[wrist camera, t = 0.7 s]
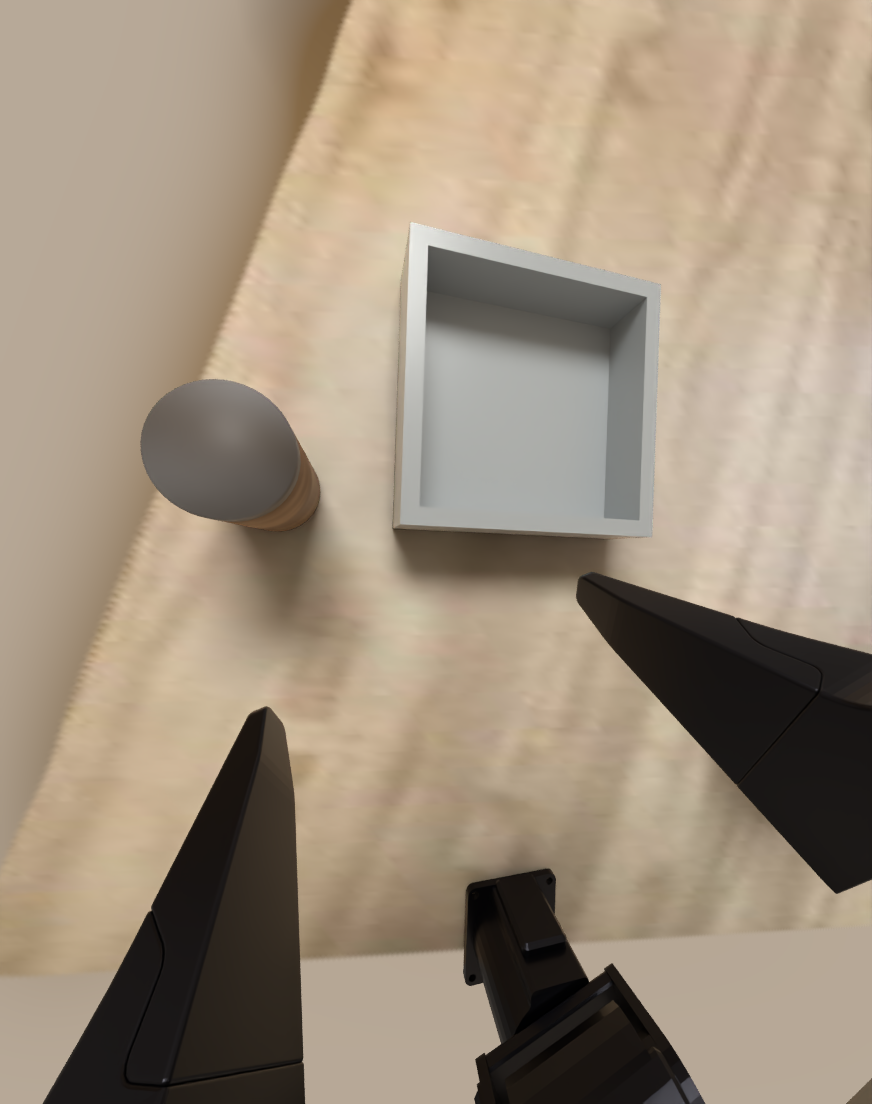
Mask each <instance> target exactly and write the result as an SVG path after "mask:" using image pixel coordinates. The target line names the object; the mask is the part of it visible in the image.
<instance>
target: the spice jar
mask: <svg viewBox="0 0 872 1104" xmlns="http://www.w3.org/2000/svg"><path fill="white" fill-rule="evenodd" d="M141 455H142V460H143V464H144V467H145V469H146V472H147V474H148V476H149V478H150V479H151V481H152V482H153V484H154V485H155V487H156V488H157V489H158V490H159V491H160V493H161V494H162V495H163V496H164V497H165V498H167V499H168V500H169V501H170V502H171V503H173V504H174V505H176V506H178V507H179V508H181V509H183V510H185V511H187V512H189V513H191V514H194V515H197V516H200V517H205V518H209V519H214V520H219V521H224V522H229V523H233V524H238V525H243V526H248V527H253V528H258V529H263V530H268V531H286V530H290V529H293V528H296V527H298V526H300V525H301V524H303V523H304V522H306V521H307V520H308V519H309V518H310V517H311V516H312V514H313V513H314V511H315V510H316V508H317V505H318V502H319V498H320V485H319V480H318V477H317V475H316V473H315V471H314V469H313V467H312V465H311V463H310V462H309V460H308V458H307V456H306V454H305V452H304V451H303V449H302V447H301V445H300V443H299V441H298V440H297V438H296V436H295V434H294V432H293V430H292V429H291V427H290V425H289V423H288V421H287V420H286V418H285V417H284V415H283V414H282V412H281V411H280V410H279V409H278V407H277V406H276V405H275V404H274V403H272V402H271V401H270V400H269V399H268V398H267V397H265V396H264V395H263V394H261V393H259V392H258V391H256V390H254V389H252V388H250V387H248V386H245V385H243V384H240V383H236V382H232V381H227V380H218V379H209V380H199V381H195V382H190V383H187V384H184V385H182V386H180V387H177V388H175V389H174V390H172V391H171V392H169V393H168V394H166V395H165V396H164V397H163V398H161V399H160V400H159V401H158V402H157V403H156V405H155V406H154V407H153V408H152V410H151V411H150V413H149V414H148V416H147V419H146V421H145V423H144V426H143V430H142V434H141Z"/></svg>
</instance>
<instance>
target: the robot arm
mask: <svg viewBox="0 0 872 1104" xmlns="http://www.w3.org/2000/svg"><path fill="white" fill-rule="evenodd" d="M576 598H577V602H578V603H579V605H580V606H581V608H582V609H583V610H584V612H585V613H586V614H587V616H588V617H589V619H590V620H591V621H592V623H593V624H594V625H595V627H596V628H597V629H598V631H599V632H600V633H601V635H602V636H603V637H604V639H605V640H606V641H607V643H608V644H609V645H610V646H611V647H612V649H613V650H614V651H615V652H616V653H617V654H618V655H619V656H620V657H621V659H622V660H623V661H624V662H625V663H626V664H627V665H628V666H629V667H630V668H631V670H632V671H633V672H634V673H635V674H636V675H637V676H638V677H639V678H640V679H641V681H642V682H643V683H644V684H645V685H646V686H647V687H648V688H649V689H650V690H651V692H652V693H653V694H654V695H655V696H656V697H657V698H658V699H659V700H660V702H661V703H662V704H663V705H664V706H665V707H666V708H667V709H668V710H669V711H670V713H671V714H672V715H673V716H674V717H675V718H676V719H677V720H678V721H679V722H680V724H681V725H682V726H683V727H684V728H685V729H686V730H687V731H688V732H689V733H690V735H691V736H692V737H693V738H694V739H695V740H696V741H697V742H698V743H699V744H700V746H701V747H702V748H703V749H704V750H705V751H706V752H707V753H708V754H709V755H710V757H711V758H712V759H713V760H714V761H715V762H716V763H717V764H718V765H719V767H720V768H721V769H722V770H723V771H724V772H725V773H726V774H727V775H728V776H729V778H730V779H731V780H732V781H733V782H734V783H735V784H737V787H738V788H739V789H740V790H741V791H742V792H743V793H744V794H745V795H746V797H747V798H748V799H749V800H750V801H751V802H752V803H753V804H754V805H755V806H756V808H757V809H758V810H759V811H760V812H761V813H762V814H763V815H764V816H765V817H766V819H767V820H768V821H769V822H770V823H771V824H772V825H773V826H774V827H775V828H776V830H777V831H778V832H779V833H780V834H781V835H782V836H783V837H784V838H785V839H786V841H787V842H788V843H789V844H790V845H791V846H792V847H793V848H794V849H795V850H796V852H797V853H798V854H799V855H800V856H801V857H802V858H803V859H804V860H805V861H806V863H807V864H808V865H809V866H810V867H811V868H812V869H813V870H814V871H815V872H816V874H817V875H818V876H819V877H820V878H821V879H822V880H823V881H824V882H825V883H826V884H827V885H828V887H830V888H831V889H832V890H833V891H834V892H835V893H836V894H838V893H841V892H843V891H846V890H848V889H850V888H853V887H855V886H858V885H860V884H862V883H865V882H867V881H870V880H872V654H869V653H865V652H861V651H857V650H853V649H849V648H845V647H841V646H837V645H834V644H830V643H826V642H822V641H818V640H814V639H810V638H806V637H803V636H799V635H795V634H792V633H788V632H784V631H781V630H777V629H774V628H770V627H767V626H764V625H760V624H757V623H754V622H751V621H747V620H744V619H741V618H735V617H734V616H731V615H728V614H725V613H722V612H718V611H715V610H712V609H709V608H706V607H703V606H699V605H696V604H693V603H690V602H687V601H683V600H680V599H677V598H674V597H671V596H668V595H664V594H661V593H658V592H655V591H652V590H648V589H645V588H642V587H639V586H636V585H632V584H629V583H626V582H623V581H620V580H617V579H613V578H610V577H607V576H604V575H601V574H597V573H594V572H590V573H587V574H585V575H582V576H580V577H579V579H578V584H577V593H576ZM555 888H556V878H555V876H554V874H553V872H552V871H551V870H550V869H543V870H537V871H532V872H527V873H522V874H517V875H511V876H506V877H501V878H496V879H490V880H485V881H480V882H475V883H472V884H470V885H469V886H468V887H467V890H466V910H465V940H464V969H463V974H464V978H465V982H466V984H467V985H469V986H472V985H476V984H480V983H484V986H485V990H486V993H487V997H488V1000H489V1004H490V1007H491V1010H492V1014H493V1017H494V1021H495V1024H496V1028H497V1031H498V1034H499V1038H500V1041H501V1045H499V1046H498V1047H497V1048H495V1049H494V1050H492V1051H491V1052H489V1053H488V1054H487V1055H485V1053H483V1054H482V1055H480V1056H479V1057H478V1058H476V1059H475V1060H476V1065H477V1070H478V1075H479V1081H480V1083H478V1084H477V1088H478V1091H477V1093H476V1096H475V1098H474V1099H475V1104H705V1102H704V1101H703V1099H702V1097H701V1095H700V1093H699V1091H698V1089H697V1088H696V1086H695V1084H694V1082H693V1081H692V1079H691V1077H690V1075H689V1073H688V1072H687V1070H686V1068H685V1067H684V1065H683V1064H682V1062H681V1060H680V1058H679V1057H678V1055H677V1054H676V1052H675V1051H674V1049H673V1047H672V1046H671V1045H670V1043H669V1041H668V1040H667V1038H666V1037H665V1035H664V1034H663V1033H662V1031H661V1030H660V1028H659V1027H658V1026H657V1024H656V1023H655V1022H654V1020H653V1019H652V1017H651V1016H650V1015H649V1013H648V1012H647V1010H646V1009H645V1008H644V1006H643V1005H642V1004H641V1002H640V1001H639V1000H638V998H637V997H636V995H635V994H634V993H633V991H632V990H631V988H630V987H629V986H628V984H627V983H626V981H625V980H624V979H623V977H622V976H621V975H620V973H619V972H618V970H617V969H616V968H615V967H614V965H613V964H610V965H609V966H607V967H606V968H604V970H605V971H604V972H603V973H602V974H600V975H599V976H597V977H596V978H594V979H593V980H592V981H590V982H589V980H588V978H587V976H586V974H585V972H584V970H583V968H582V966H581V965H580V963H579V961H578V959H577V957H576V955H575V953H574V952H573V950H572V948H571V946H570V944H569V942H568V940H567V939H566V935H565V933H564V931H563V929H562V928H561V926H560V924H559V922H558V920H557V918H556V916H555ZM474 892H475V893H474ZM473 893H474V894H473ZM151 910H152V911H149V912H148V913H147V915H146V917H145V919H144V921H143V923H142V925H141V927H140V929H139V931H138V933H137V935H136V937H135V939H134V941H133V943H132V945H131V947H130V948H129V950H128V952H127V954H126V956H125V958H124V960H123V962H122V964H121V965H120V967H119V969H118V971H117V973H116V975H115V977H114V979H113V981H112V983H111V985H110V986H109V988H108V990H107V992H106V994H105V996H104V997H103V999H102V1001H101V1002H100V1004H99V1006H98V1008H97V1010H96V1011H95V1013H94V1015H93V1017H92V1019H91V1020H90V1022H89V1024H88V1026H87V1027H86V1029H85V1031H84V1033H83V1034H82V1036H81V1038H80V1040H79V1042H78V1043H77V1045H76V1047H75V1049H74V1050H73V1052H72V1054H71V1055H70V1057H69V1059H68V1061H67V1062H66V1064H65V1066H64V1067H63V1069H62V1071H61V1073H60V1074H59V1076H58V1078H57V1080H56V1082H55V1083H54V1085H53V1087H52V1088H51V1090H50V1092H49V1094H48V1095H47V1097H46V1099H45V1100H44V1102H43V1104H305V1088H304V1064H303V1062H302V1060H303V1036H302V1006H301V975H300V944H299V914H298V883H297V853H296V823H295V798H294V788H293V780H292V774H291V767H290V760H289V754H288V747H287V740H286V733H285V729H284V726H283V723H282V722H281V721H280V719H279V718H278V717H277V716H276V714H275V713H274V712H273V711H272V709H271V708H270V707H267V706H266V707H263V708H260V709H258V710H256V711H253V712H251V713H250V714H249V715H248V717H247V719H246V721H245V723H244V725H243V727H242V729H241V731H240V733H239V735H238V737H237V739H236V741H235V743H234V745H233V746H232V748H231V750H230V752H229V754H228V756H227V758H226V760H225V762H224V764H223V766H222V768H221V770H220V772H219V774H218V776H217V778H216V780H215V782H214V784H213V786H212V788H211V790H210V792H209V794H208V796H207V798H206V800H205V802H204V804H203V805H202V807H201V809H200V811H199V813H198V815H197V817H196V819H195V821H194V823H193V825H192V827H191V829H190V831H189V833H188V835H187V837H186V839H185V841H184V843H183V845H182V847H181V849H180V851H179V853H178V855H177V857H176V859H175V861H174V863H173V864H172V866H171V868H170V870H169V872H168V874H167V876H166V878H165V880H164V882H163V884H162V886H161V888H160V890H159V892H158V894H157V896H156V898H155V900H154V902H153V904H152V906H151ZM846 1104H872V1079H871V1080H870V1081H869V1082H868V1083H867V1084H866V1085H865V1086H864V1087H863V1088H862V1089H861V1090H860V1091H859V1092H858V1093H857V1094H856V1095H855V1096H853V1097H852V1099H850V1101H848V1102H847V1103H846Z"/></svg>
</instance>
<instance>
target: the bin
mask: <svg viewBox="0 0 872 1104" xmlns="http://www.w3.org/2000/svg"><path fill="white" fill-rule="evenodd" d="M660 296H661V284H658V283H654V282H650V281H646V280H642V279H638V278H634V277H630V276H626V275H622V274H618V273H614V272H610V271H606V270H602V269H598V268H594V267H589V266H585V265H581V264H577V263H573V262H569V261H565V260H561V259H557V258H553V257H549V256H545V255H541V254H537V253H533V252H529V251H525V250H521V249H517V248H513V247H509V246H505V245H501V244H497V243H493V242H489V241H485V240H481V239H477V238H473V237H469V236H465V235H461V234H457V233H453V232H449V231H445V230H441V229H437V228H433V227H429V226H425V225H421V224H417V223H413V222H410V227H409V233H408V239H407V245H406V251H405V258H404V264H403V270H402V276H401V292H400V322H399V352H398V381H397V411H396V441H395V471H394V500H393V529H411V530H432V531H453V532H474V533H495V534H516V535H537V536H558V537H579V538H600V539H616V538H641V537H652V527H653V498H654V469H655V440H656V412H657V383H658V354H659V325H660Z"/></svg>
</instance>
